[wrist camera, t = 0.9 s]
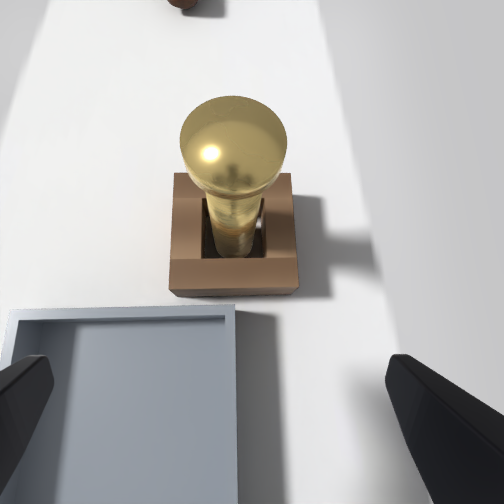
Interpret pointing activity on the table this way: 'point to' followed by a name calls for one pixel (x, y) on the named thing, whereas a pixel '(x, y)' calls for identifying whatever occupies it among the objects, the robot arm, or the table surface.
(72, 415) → the tray
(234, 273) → the block
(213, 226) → the pin
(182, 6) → the bolt
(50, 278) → the table surface
